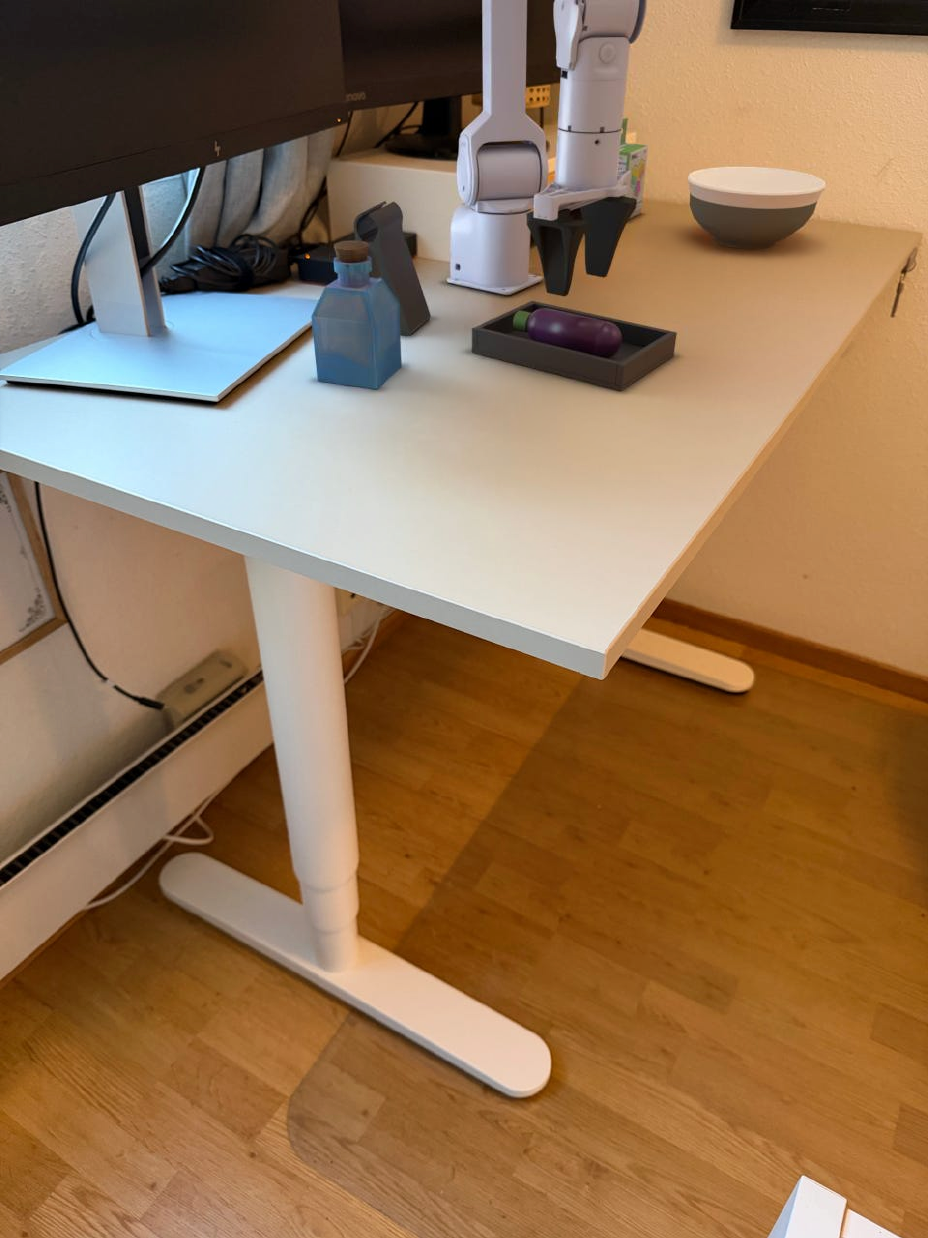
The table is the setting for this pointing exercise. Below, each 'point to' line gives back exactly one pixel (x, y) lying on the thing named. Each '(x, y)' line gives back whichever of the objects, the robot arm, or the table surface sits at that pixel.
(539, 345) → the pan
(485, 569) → the table surface
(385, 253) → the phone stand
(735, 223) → the bowl
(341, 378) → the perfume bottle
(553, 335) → the eggplant
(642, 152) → the green white box
